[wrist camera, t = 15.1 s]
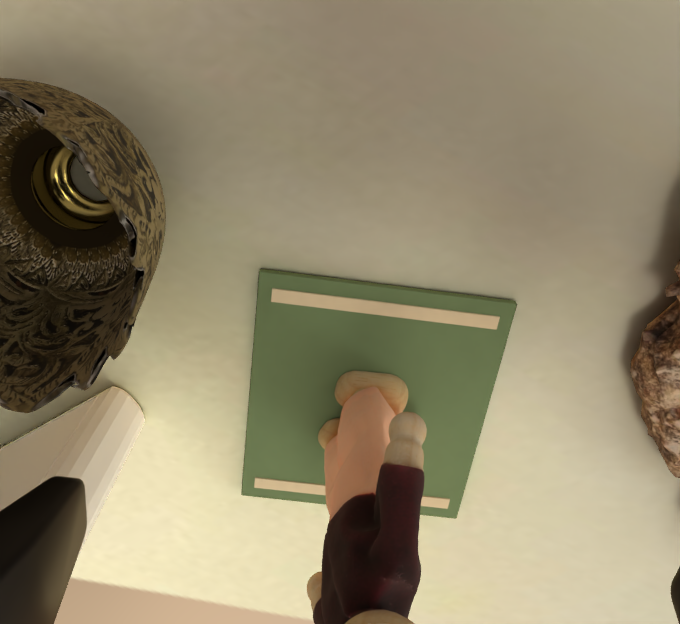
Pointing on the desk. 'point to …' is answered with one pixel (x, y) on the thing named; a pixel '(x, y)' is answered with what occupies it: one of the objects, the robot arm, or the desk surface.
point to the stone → (661, 378)
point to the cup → (69, 241)
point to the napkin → (372, 356)
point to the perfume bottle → (75, 450)
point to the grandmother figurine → (370, 504)
